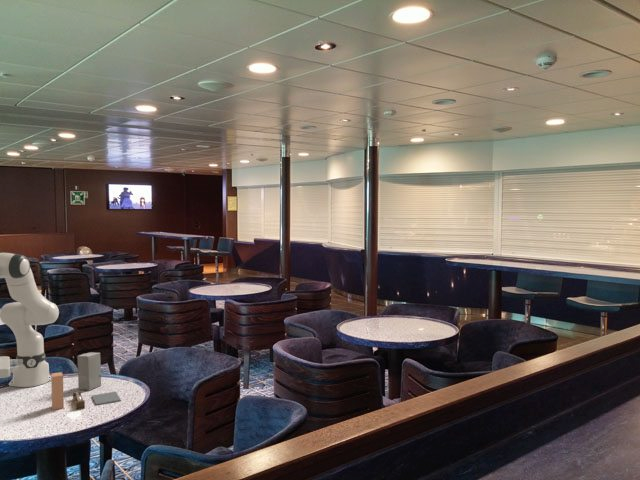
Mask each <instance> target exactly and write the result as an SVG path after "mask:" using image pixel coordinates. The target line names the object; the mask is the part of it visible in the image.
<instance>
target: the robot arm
mask: <svg viewBox="0 0 640 480" xmlns="http://www.w3.org/2000/svg"><path fill="white" fill-rule="evenodd" d="M30 263H31V262H30V260H29V258H28V257H27V256H25V255H24V254H20V253H12V252H0V279H4V280H5V282H6V283H5V284H6V286H7V290H8V293H9V296H10V297H11V299H12V300H14V301H15V302H14V301H13V302H9V303H8V302H7V303H5V304H4V305H2V307H1V309H0V320H1V323H3V324H5V325H6V326H7V327H8V328H10V330H11V331H12V332H13V334H14V337H15V341H16V352H17V354H16V357H15V359H12V358H11V357H10V356H8V355H7V356H6V355H3V356H2V355H1V356H0V379H4V378H6V379H7V378H9V377H11V374H13V375H12V378H11V380H10V381H9V383H8V385H9V386H8V387H17V388H30V387H31V388H32V387H36V386H40V385H41V386H42V385H43V384H46V383H48V382H51V373H50V366H49V363H48V362H47V361H46V360H45V359H46V353H45V348H44V347H45V345H44V344H45V343H44V337H43V335H42V334H41V333H40V332H38V331H36V330H35V329H34V328H33V327H32V326H45V325H49V324H53V323H55V322H56V321H57V320H58V318H59V314H60V310H59V307H58V306H57V304H56V303H54V302H51V301H50V300H49V299H48V298H46V297H44V295H43V294H42V293H41V292H40V290H39V289H38V286H37V284H36V281H35V277H34V273H33V271H32V269H31V264H30ZM14 365H15V366H14ZM49 377H50V378H49ZM11 382H13V383H11Z"/></svg>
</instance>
